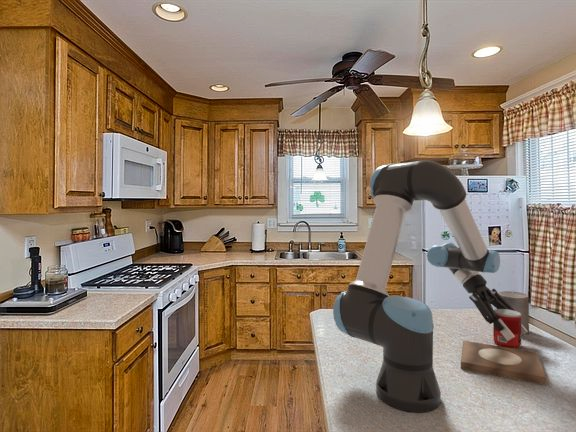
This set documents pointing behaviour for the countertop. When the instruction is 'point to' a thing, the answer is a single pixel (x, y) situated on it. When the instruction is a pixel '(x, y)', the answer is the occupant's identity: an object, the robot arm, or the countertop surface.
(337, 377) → the countertop surface
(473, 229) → the robot arm
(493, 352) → the board
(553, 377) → the countertop surface
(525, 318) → the pillar candle
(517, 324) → the canned food
